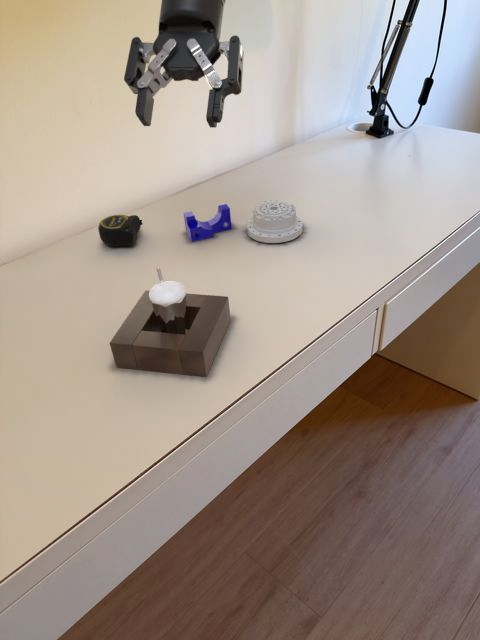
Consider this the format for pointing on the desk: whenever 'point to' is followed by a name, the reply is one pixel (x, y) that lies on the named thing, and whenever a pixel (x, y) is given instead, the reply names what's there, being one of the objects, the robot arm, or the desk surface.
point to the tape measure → (119, 229)
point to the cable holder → (207, 224)
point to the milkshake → (170, 306)
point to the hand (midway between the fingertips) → (177, 123)
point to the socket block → (172, 337)
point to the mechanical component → (274, 222)
